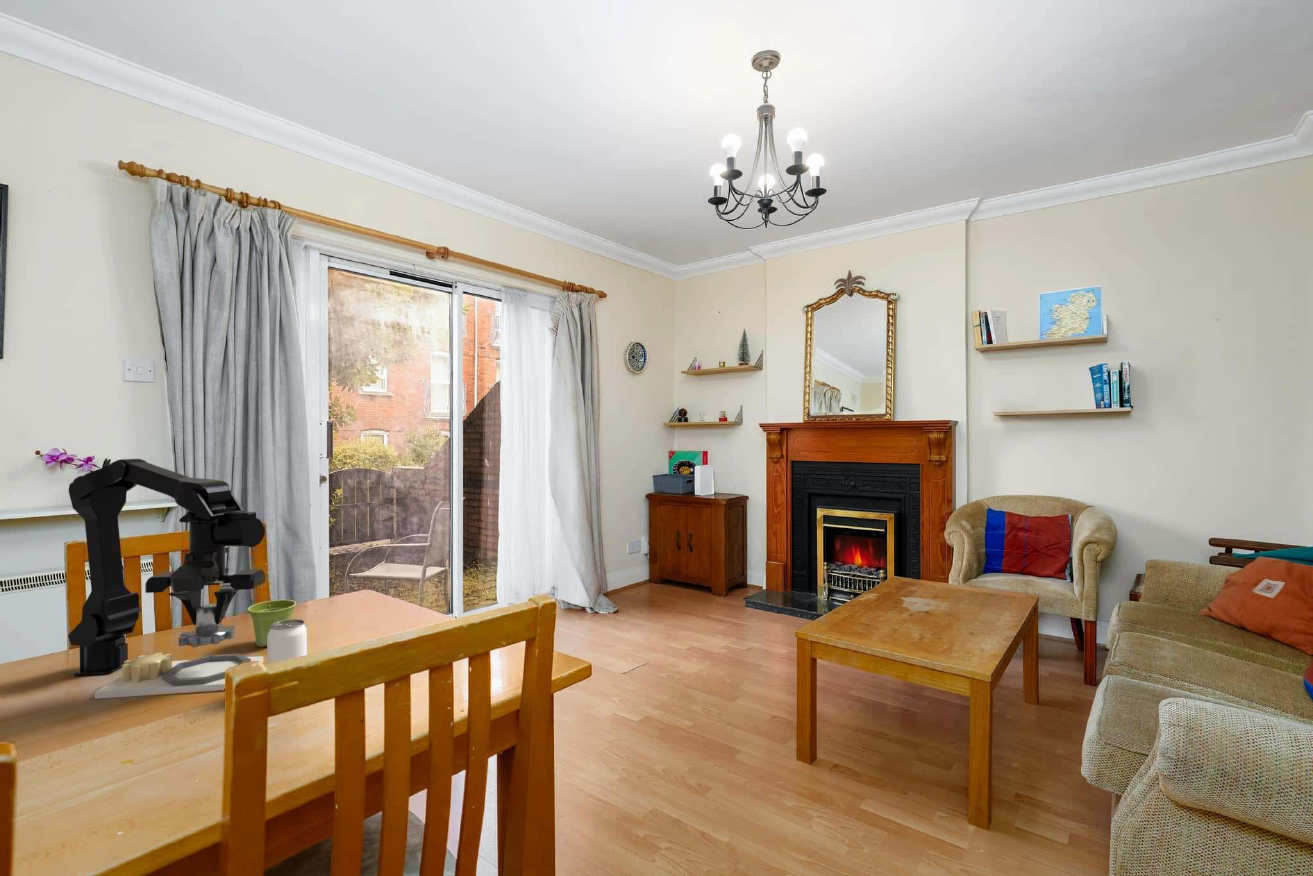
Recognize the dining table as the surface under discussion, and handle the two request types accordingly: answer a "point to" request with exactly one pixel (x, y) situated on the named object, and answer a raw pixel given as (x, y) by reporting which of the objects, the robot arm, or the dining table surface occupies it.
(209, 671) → the plate
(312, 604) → the dining table surface
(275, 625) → the can
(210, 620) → the planet gear
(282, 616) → the plant pot
